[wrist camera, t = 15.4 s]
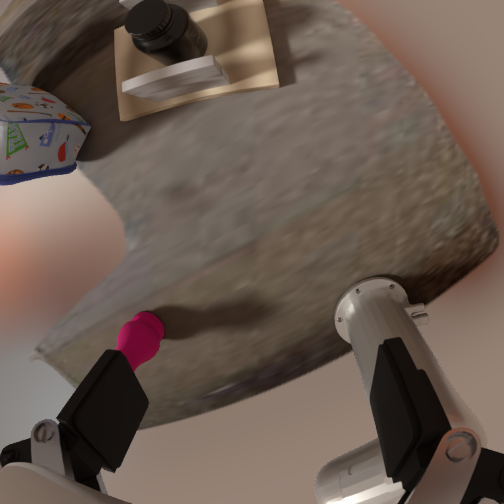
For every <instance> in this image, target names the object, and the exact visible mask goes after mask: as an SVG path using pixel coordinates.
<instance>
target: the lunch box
mask: <svg viewBox="0 0 504 504" xmlns="http://www.w3.org/2000/svg"><path fill="white" fill-rule="evenodd" d="M90 128H91V125H90V124H89V123H87V122H86V121H85V120H84V119H83V118H82V117H81V116H80V115H79V114H77V113H76V112H75V111H74V110H72V109H71V108H70V107H69V106H67V105H66V104H64V103H63V102H62V101H60V100H59V99H58V98H57V97H56V96H54V95H52V94H50V93H48V92H46V91H44V90H41V89H39V88H36V87H33V86H28V85H19V84H13V85H11V84H6V83H0V185H13V184H16V183H20V182H23V181H28V180H32V179H36V178H41V177H47V176H54V175H63V174H69V173H71V172H73V171H74V170H75V169H76V166H77V164H76V162H75V160H76V157H77V154H78V152H79V150H80V148H81V146H82V144H83V142H84V140H85V138H86V136H87V134H88V132H89V130H90Z"/></svg>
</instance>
